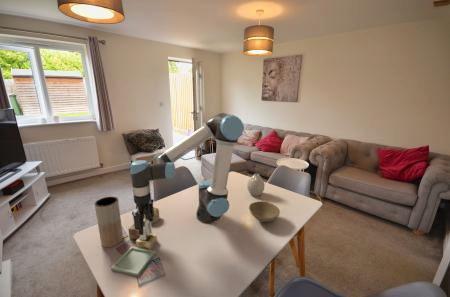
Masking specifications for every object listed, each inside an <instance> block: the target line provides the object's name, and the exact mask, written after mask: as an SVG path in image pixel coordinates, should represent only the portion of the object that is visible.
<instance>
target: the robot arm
mask: <svg viewBox="0 0 450 297" xmlns="http://www.w3.org/2000/svg"><path fill="white" fill-rule="evenodd" d="M243 134H244V123H243V121H242V120H241V118H239V117H238V116H236V115H234V114H229V113H224V112H222V113H218V114H216V115H214V116H212V117H211V118H210V119H208V120H207V121H205V122H204V123H203V125H202V126H201V127H200V128H198V129H197V130H195V131H194V132H192V133H191V134H190V135H188V136H186V137H185V138H183V139H182V140H181V141H178V142H177V143H175V144H174V145H173V146H171V147H170V148H168V149H166V150H165V151H164V152H162V153H160V154H156V155H155V156H153V158H152V164H149V162H148V161H147V160H144V159H143V160H139V159H138V160H135V161H132V162H131V163H130V164H129V165H130V166H129V168H130V176H131V177H130V179H131V185H132V196H133V202H134V203H135V205H136V206H135V210H134V211H132V212H131V215H132V218H133V224H134V225H135V230H139V235H140V239H142V240H146V233H145V227H144V215H145V217H146V218H148V221H149V233H152V234H153V228H152V225H153V224H152V223H151V221H153V219H152V218H153V217H154V211H153V207H154V199H153V198H152V196H151V195H152V194H151V193H152V192H151V181H158V180H159V181H160V180H168V179H172V178H175V177H176V165H175V162H177V161H178V160H180V159H182V158H183V157H184V156H186V155H187V154H188V153H190V152H192V151H193V150H194V149H196V148H197V147H199V146H200V145H202V144H203V143H204V142H206V141H208V140H210V138H212V139H213V138H214V139H215V141H216V144H217V145H216V151H215V155H214V161H213V162H214V163H213V168H212V173H211V174H212V175H211V179H205V180H202V181H200V182H198V187H197V188H198V207H197V210H196V213H195V214H196V216H195V217H196V219H197V220H198V221H199V222H202V223H207V224H208V223H209V224H210V223H215V222H216V221H218V220H219V219H220V218H221V217H222V216H223V215H224V214H226V213H227V212H228V211H229V209H230V203H229V202H230V201H229V200H228V197H229V196H228V194H229V190H228V189H227V185H228V181H229V175H230V174H229V173H230V168H231V162H232V159H233V158H232V157H233V151H234V147H235V145H236V144H238V141H239V139H240V138H241V137H242V136H243ZM151 214H152V215H151Z"/></svg>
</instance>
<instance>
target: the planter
mask: <svg viewBox="0 0 450 297" xmlns="http://www.w3.org/2000/svg"><path fill="white" fill-rule="evenodd" d="M94 209H95V215H96V221H97V228H98V232H99V239H100V244H101V246H102V247H104V248H111V247H115V246H117V245H119V244H120V243H122V241H123V239H124V232H123V226H122V219H121V212H120V210H121V209H120V204H119V198H118V197H117V196H111V195H110V196H105V197H102V198H99V199H97V200H96V201H95V202H94Z"/></svg>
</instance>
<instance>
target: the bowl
mask: <svg viewBox="0 0 450 297" xmlns="http://www.w3.org/2000/svg"><path fill="white" fill-rule="evenodd" d="M248 209H249V212H250V214H251V215H252V216H253V217H254V218H255V219H256V220H258V221H259V222H262V223H269V222H271V221H273V220H276V219H277V218H278V217H279V216H280V214H281V210H280V208H279V207H278V206H277V205H275V204H273V203H271V202H267V201H260V200H259V201H254V202H252V203H250V205H249V207H248Z"/></svg>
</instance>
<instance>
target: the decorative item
mask: <svg viewBox="0 0 450 297" xmlns="http://www.w3.org/2000/svg"><path fill="white" fill-rule="evenodd" d="M153 211H154V217H153V218H152V219H153V221H151V223H152V225H153V224H155V223H157V222H158V221H159V218H160V209H159V208H158V207H154V206H153ZM151 215H152V214H151ZM144 218H146V217H145V215H144Z"/></svg>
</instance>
